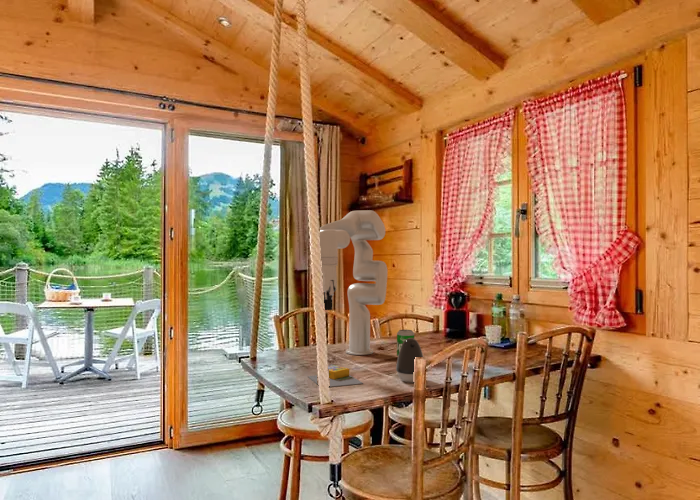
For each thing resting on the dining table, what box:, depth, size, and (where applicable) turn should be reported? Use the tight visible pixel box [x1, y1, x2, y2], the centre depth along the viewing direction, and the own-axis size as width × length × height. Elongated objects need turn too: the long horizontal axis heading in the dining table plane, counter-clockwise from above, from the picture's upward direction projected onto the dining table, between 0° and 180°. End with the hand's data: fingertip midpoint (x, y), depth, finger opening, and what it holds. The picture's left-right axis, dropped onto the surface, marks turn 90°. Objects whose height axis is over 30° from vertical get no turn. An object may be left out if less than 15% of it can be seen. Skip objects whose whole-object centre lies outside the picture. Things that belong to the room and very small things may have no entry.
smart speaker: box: [395, 338, 424, 384], centre depth 176 cm, size 10×10×15 cm
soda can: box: [396, 329, 415, 357], centre depth 214 cm, size 8×8×12 cm
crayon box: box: [327, 364, 354, 381], centre depth 180 cm, size 7×3×12 cm
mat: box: [307, 374, 364, 388], centre depth 175 cm, size 16×15×1 cm
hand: (327, 309), depth 189 cm, fingers closed
